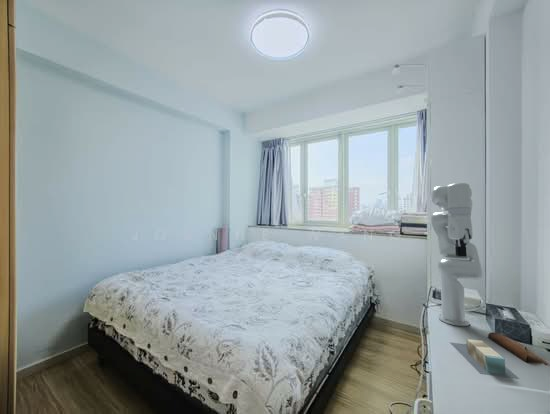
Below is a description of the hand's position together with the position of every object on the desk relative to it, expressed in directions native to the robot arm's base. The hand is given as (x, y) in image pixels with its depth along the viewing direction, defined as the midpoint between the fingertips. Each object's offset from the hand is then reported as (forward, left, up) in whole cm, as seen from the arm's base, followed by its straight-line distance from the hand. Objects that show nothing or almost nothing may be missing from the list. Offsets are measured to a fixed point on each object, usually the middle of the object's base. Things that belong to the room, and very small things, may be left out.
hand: (461, 255), depth 96 cm
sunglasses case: (-1, +18, -38) cm, 42 cm away
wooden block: (+5, +1, -34) cm, 34 cm away
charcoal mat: (+9, +1, -37) cm, 38 cm away
